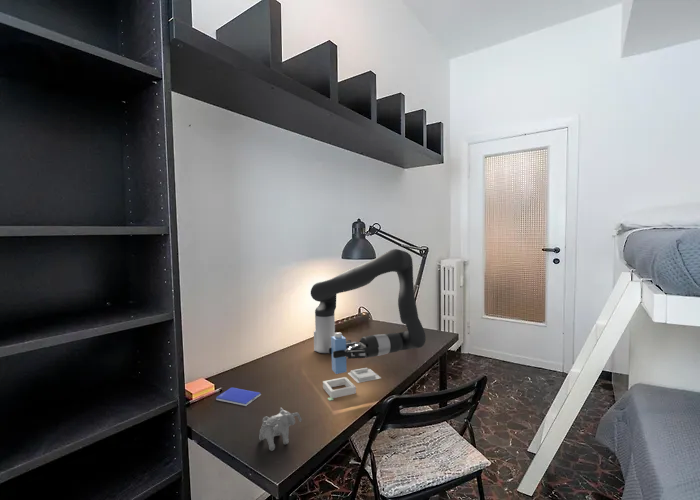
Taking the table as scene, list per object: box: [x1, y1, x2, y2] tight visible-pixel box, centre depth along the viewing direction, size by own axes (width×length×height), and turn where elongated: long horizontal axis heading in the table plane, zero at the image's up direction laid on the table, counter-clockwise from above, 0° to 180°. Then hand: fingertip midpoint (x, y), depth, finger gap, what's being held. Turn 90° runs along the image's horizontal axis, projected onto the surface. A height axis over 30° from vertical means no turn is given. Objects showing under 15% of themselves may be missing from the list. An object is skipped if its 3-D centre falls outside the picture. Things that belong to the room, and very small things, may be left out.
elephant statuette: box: [258, 406, 303, 452], centre depth 97 cm, size 9×12×8 cm
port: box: [322, 376, 357, 402], centre depth 124 cm, size 12×12×3 cm
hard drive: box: [215, 387, 262, 407], centre depth 122 cm, size 2×8×12 cm
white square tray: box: [347, 367, 382, 384], centre depth 137 cm, size 10×10×2 cm
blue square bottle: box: [331, 331, 348, 375], centre depth 124 cm, size 4×4×14 cm
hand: (331, 352), depth 122 cm, fingers closed on blue square bottle, 4 cm apart
